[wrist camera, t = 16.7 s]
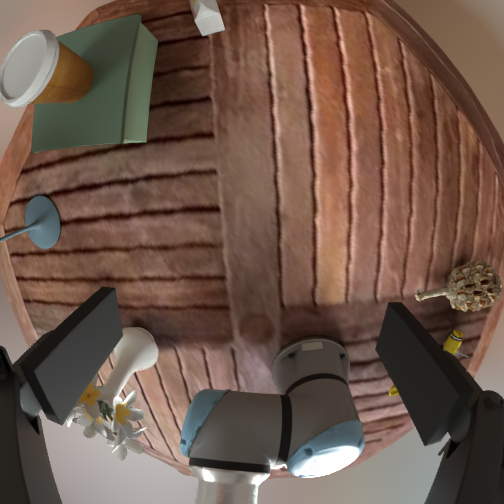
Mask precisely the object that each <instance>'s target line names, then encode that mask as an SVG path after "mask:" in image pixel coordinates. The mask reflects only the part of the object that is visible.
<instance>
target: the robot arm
mask: <svg viewBox="0 0 504 504" xmlns="http://www.w3.org/2000/svg"><path fill="white" fill-rule="evenodd" d="M122 337H123V331H122V326H121V321H120V315H119V310H118V304H117V297H116V291H115V288H110V287H101V288H100V289H99V290H98V291H97V292H95V293H94V294H93V295H92V296H91V297H90V298H89V299H87V300H86V301H85V302H84V303H83V304H82V305H81V306H80V307H79V308H77V309H76V310H75V311H74V312H73V313H72V314H71V315H70V316H69V317H68V318H66V319H65V320H64V321H63V322H62V323H61V324H60V325H59V326H58V327H57V328H56V329H55V330H52V331H50V332H48V333H46V334H44V335H43V336H41V337H40V338H39V339H38V340H37V341H36V343H34V344H33V345H32V346H31V348H29V349H28V350H27V351H26V352H25V353H24V354H23V355H22V356H21V357H20V358H19V359H18V360H17V361H16V362H15V363H14V364H13V365H12V363H11V360H10V358H9V356H8V353H7V351H6V349H5V348H4V347H3V346H0V504H62V501H61V498H60V495H59V493H58V489H57V486H56V483H55V480H54V477H53V473H52V469H51V465H50V462H49V457H48V453H47V449H46V444H45V439H44V434H43V429H42V423H41V419H40V417H39V415H38V413H39V412H40V410H41V409H42V410H43V412H44V413H45V415H46V417H47V419H49V420H51V421H53V422H55V423H58V424H60V425H63V424H64V422H65V420H66V419H67V417H68V416H69V414H70V413H71V411H72V410H73V408H74V406H75V405H76V403H77V402H78V400H79V399H80V397H81V396H82V394H83V393H84V391H85V390H86V388H87V387H88V385H89V384H90V382H91V381H92V380H93V378H94V377H95V375H96V374H97V372H98V371H99V369H100V368H101V366H102V365H103V364H104V362H105V361H106V359H107V358H108V356H109V355H110V354H111V352H112V351H113V349H114V348H115V347H116V345H117V344H118V343H119V341H120V340H121V338H122ZM375 350H376V351H377V353H378V355H379V357H380V359H381V361H382V362H383V364H384V366H385V368H386V370H387V372H388V374H389V375H390V377H391V379H392V381H393V383H394V385H395V387H396V389H397V391H398V393H399V395H400V397H401V399H402V400H403V402H404V404H405V406H406V408H407V410H408V412H409V414H410V417H411V419H412V421H413V423H414V425H415V427H416V429H417V431H418V433H419V435H420V437H421V439H422V442H423V443H424V446H428V445H431V444H434V443H437V442H440V441H441V440H442V438H443V437H444V436H445V434H446V433H447V432H448V433H449V435H450V436H451V438H450V439H449V441H448V442H447V443H446V444H445V446H444V447H443V448H442V449H441V451H440V452H439V454H438V455H441V454H442V452H443V451H444V454H443V457H442V460H441V463H440V466H439V469H438V472H437V474H436V477H435V479H434V482H433V485H432V487H431V489H430V492H429V494H428V497H427V499H426V501H425V503H424V504H504V399H503V398H502V396H500V395H499V394H498V393H496V392H494V391H490V390H487V391H483V390H482V389H481V388H480V386H479V385H478V384H477V383H476V381H475V380H474V379H473V377H472V376H471V375H470V374H469V372H468V371H467V372H466V369H465V368H464V366H463V365H461V363H460V361H459V360H458V359H457V358H456V357H455V356H454V355H452V354H451V353H449V352H448V351H444V350H443V349H442V348H441V347H440V346H439V344H438V343H437V342H436V341H435V340H434V338H433V337H432V336H431V335H430V334H429V333H428V331H427V330H426V329H425V328H424V327H423V326H422V325H421V323H420V322H419V321H418V320H417V319H416V318H415V317H414V316H413V314H412V313H411V312H410V311H409V310H408V309H407V308H406V307H405V306H404V304H403V303H402V302H388V306H387V310H386V314H385V317H384V321H383V325H382V328H381V332H380V335H379V339H378V342H377V345H376V348H375ZM349 371H350V360H349V356H348V354H347V351H346V349H345V348H344V346H343V345H342V344H341V343H340V342H338V341H337V340H335V339H333V338H330V337H326V336H318V335H317V336H306V337H302V338H299V339H296V340H294V341H292V342H290V343H288V344H287V345H285V346H284V347H283V348H282V349H281V350H280V351H279V352H278V353H277V355H276V356H275V358H274V360H273V363H272V378H273V381H274V384H275V386H276V387H277V389H278V391H279V393H280V394H281V395H278V394H261V393H248V392H237V391H231V390H229V389H226V390H215V389H204V390H202V391H200V392H199V393H197V395H196V396H195V397H194V399H193V400H192V402H191V404H190V407H189V409H188V412H187V414H186V417H185V421H184V424H183V428H182V433H181V437H182V438H181V442H180V452H181V453H182V454H183V455H185V456H186V457H190V460H189V468H190V470H191V471H192V472H193V473H194V474H195V475H196V477H197V479H198V482H197V490H196V499H195V504H257V496H258V485H259V484H260V483H261V482H262V481H263V480H265V479H266V478H267V477H268V476H270V465H286V467H287V469H288V470H289V472H290V473H291V474H292V475H294V476H298V477H302V478H309V477H310V478H311V477H318V476H322V475H326V474H329V473H332V472H335V471H337V470H339V469H341V468H343V467H345V466H347V465H348V464H350V463H351V462H353V461H354V460H355V459H356V458H357V457H358V456H359V455H360V453H361V452H362V450H363V448H364V444H365V440H364V434H363V429H362V428H363V427H362V422H361V421H360V419H359V416H358V413H357V410H356V407H355V404H354V401H353V398H352V395H351V392H350V389H349V386H348V380H349Z"/></svg>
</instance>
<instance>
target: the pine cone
mask: <svg viewBox="0 0 504 504" xmlns="http://www.w3.org/2000/svg"><path fill="white" fill-rule="evenodd" d="M499 277H500V276H498V275H495V268H492V265H490V264H489V265H487V263H486V262H485V261H484V260H482V261H480V260H479V261H477V263H474V261H471V262H466V263H465V264H464V265H462V266H458V268H453V269H452V271H451V274H449V276H448V277H447V278H448V280H447V281H448V283H447V284H446V286H445V288H441V289H435V290H430V291H425V292H422V291H420V290H419V289H416V295H415V296H416V299H417V300H419V301H420V302H421V300H423V299H426V298H428V297H435V296H440V295H445V296H446V297H447V298H448V299H449V300H450V304H451V306H452V307H453V308H456V309H457V310H460V309H461V310H463V311H465V312H466V311H467V309H469V308H470V309H471V310H472V311H475V310H478V311H479V310H480V309H481V307H482V308H485V307H487V306H492V304H493V302H494V301H497V300H498V299H499V296H500V294H501V293H502V288H501V287H502V282H501V281H500V279H499Z"/></svg>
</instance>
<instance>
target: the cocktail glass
mask: <svg viewBox="0 0 504 504" xmlns="http://www.w3.org/2000/svg"><path fill="white" fill-rule="evenodd" d="M25 224H26V227H24V228H22V229H20V230H18V231H15V232H13V233H11V234H9V235H6V236H4V237H2V238H0V242H1V241H4V240H6V239H8V238H10V237H13V236H15V235H17V234H20V233H22V232H25V231H27V232H28V234H29V236H30V238H31V240H32V241H33V242H34V243H35V244H36V245H37V246H38V247H40V248H44V249H48V248H51V247H52V246H54V245H55V243H56V242H57V240H58V238H59V234H60V218H59V214H58V211H57V209H56V207H55V205H54V204H53V203H52V201H51V200H50V199H48V198H47V197H45V196H36V197H34V198H33V199H32V200H31V201H30V202H29V204H28V206H27V208H26V213H25Z"/></svg>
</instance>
